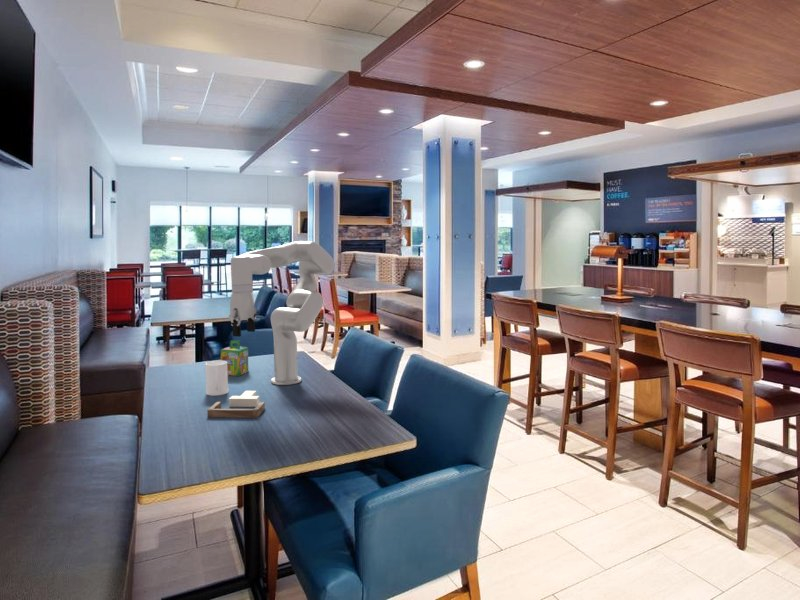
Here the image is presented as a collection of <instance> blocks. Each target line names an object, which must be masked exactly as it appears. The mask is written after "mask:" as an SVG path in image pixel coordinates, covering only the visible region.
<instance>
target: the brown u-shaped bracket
mask: <svg viewBox="0 0 800 600" xmlns="http://www.w3.org/2000/svg"><path fill="white" fill-rule="evenodd" d="M264 410H265V401H260V403H259V404H258V405H257V406H256V407H255V408H222V401H216V402H215V403H214V404H213V405H212V406H210V407H209V408H208V409H207V414H206V416H207V418H247V419H248V418H259V417H260V415H261V414H262V413H263V412H264Z"/></svg>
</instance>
